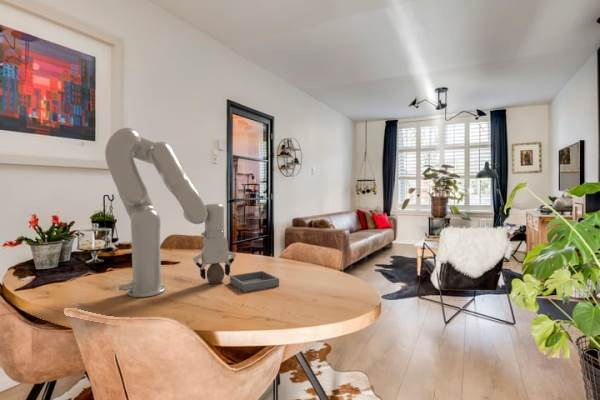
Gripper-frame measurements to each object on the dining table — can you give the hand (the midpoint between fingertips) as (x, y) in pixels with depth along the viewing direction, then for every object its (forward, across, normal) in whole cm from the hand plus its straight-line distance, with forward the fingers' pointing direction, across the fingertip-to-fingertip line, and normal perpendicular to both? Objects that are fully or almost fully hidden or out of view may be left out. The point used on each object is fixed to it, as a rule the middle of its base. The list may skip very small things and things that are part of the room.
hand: (215, 276), depth 135 cm
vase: (+3, 0, 0) cm, 3 cm away
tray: (+2, +12, -11) cm, 16 cm away
